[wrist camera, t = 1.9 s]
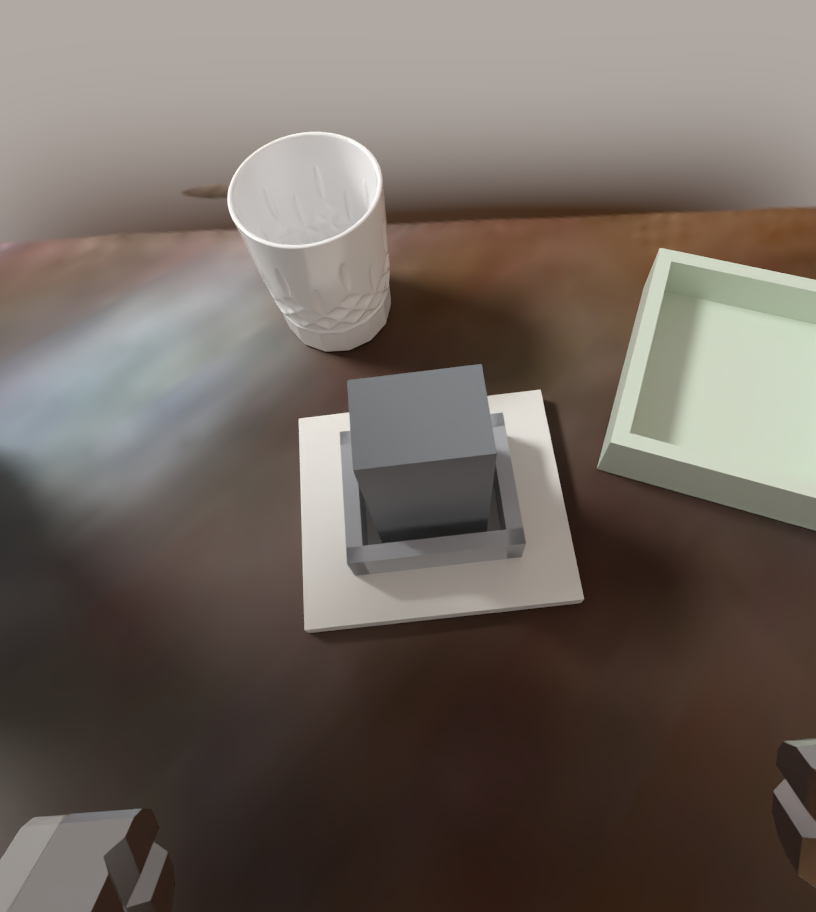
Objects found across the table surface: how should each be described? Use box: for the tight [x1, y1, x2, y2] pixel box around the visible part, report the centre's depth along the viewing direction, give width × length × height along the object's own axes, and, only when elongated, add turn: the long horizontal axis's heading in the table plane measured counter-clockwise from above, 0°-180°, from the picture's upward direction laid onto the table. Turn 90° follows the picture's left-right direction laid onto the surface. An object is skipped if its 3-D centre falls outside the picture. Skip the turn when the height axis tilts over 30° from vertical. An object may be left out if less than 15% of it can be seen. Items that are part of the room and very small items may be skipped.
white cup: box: [228, 132, 391, 352], centre depth 36 cm, size 8×8×10 cm
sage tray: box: [597, 248, 816, 531], centre depth 35 cm, size 13×13×4 cm
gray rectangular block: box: [347, 364, 497, 544], centre depth 30 cm, size 6×4×10 cm
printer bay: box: [299, 390, 584, 633], centre depth 33 cm, size 14×12×4 cm
